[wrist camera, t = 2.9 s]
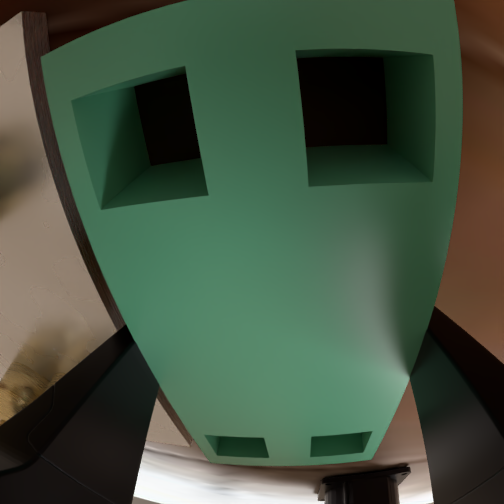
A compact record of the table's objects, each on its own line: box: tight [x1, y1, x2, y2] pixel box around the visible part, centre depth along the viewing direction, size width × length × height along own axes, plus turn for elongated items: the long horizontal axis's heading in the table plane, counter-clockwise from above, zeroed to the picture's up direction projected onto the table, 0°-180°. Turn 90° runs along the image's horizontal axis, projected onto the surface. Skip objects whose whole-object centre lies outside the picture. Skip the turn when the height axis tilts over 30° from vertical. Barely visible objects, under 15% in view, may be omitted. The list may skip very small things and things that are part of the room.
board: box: [40, 0, 463, 466], centre depth 8 cm, size 14×6×2 cm, turn 8°
